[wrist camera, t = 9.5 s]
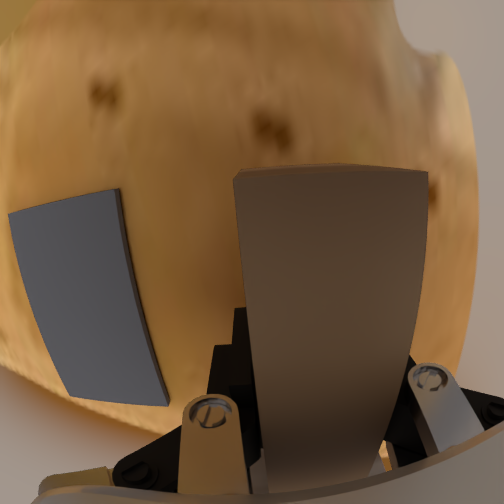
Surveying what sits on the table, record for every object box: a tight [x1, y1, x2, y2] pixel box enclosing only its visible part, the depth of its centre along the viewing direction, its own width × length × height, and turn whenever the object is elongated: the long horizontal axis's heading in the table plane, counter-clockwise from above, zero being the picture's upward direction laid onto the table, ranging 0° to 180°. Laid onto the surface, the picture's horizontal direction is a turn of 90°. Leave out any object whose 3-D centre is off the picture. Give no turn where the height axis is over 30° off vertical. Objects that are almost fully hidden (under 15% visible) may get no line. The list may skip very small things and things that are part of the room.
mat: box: [8, 188, 170, 407], centre depth 17 cm, size 15×9×1 cm, turn 5°
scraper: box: [233, 163, 428, 494], centre depth 8 cm, size 13×7×6 cm, turn 5°
